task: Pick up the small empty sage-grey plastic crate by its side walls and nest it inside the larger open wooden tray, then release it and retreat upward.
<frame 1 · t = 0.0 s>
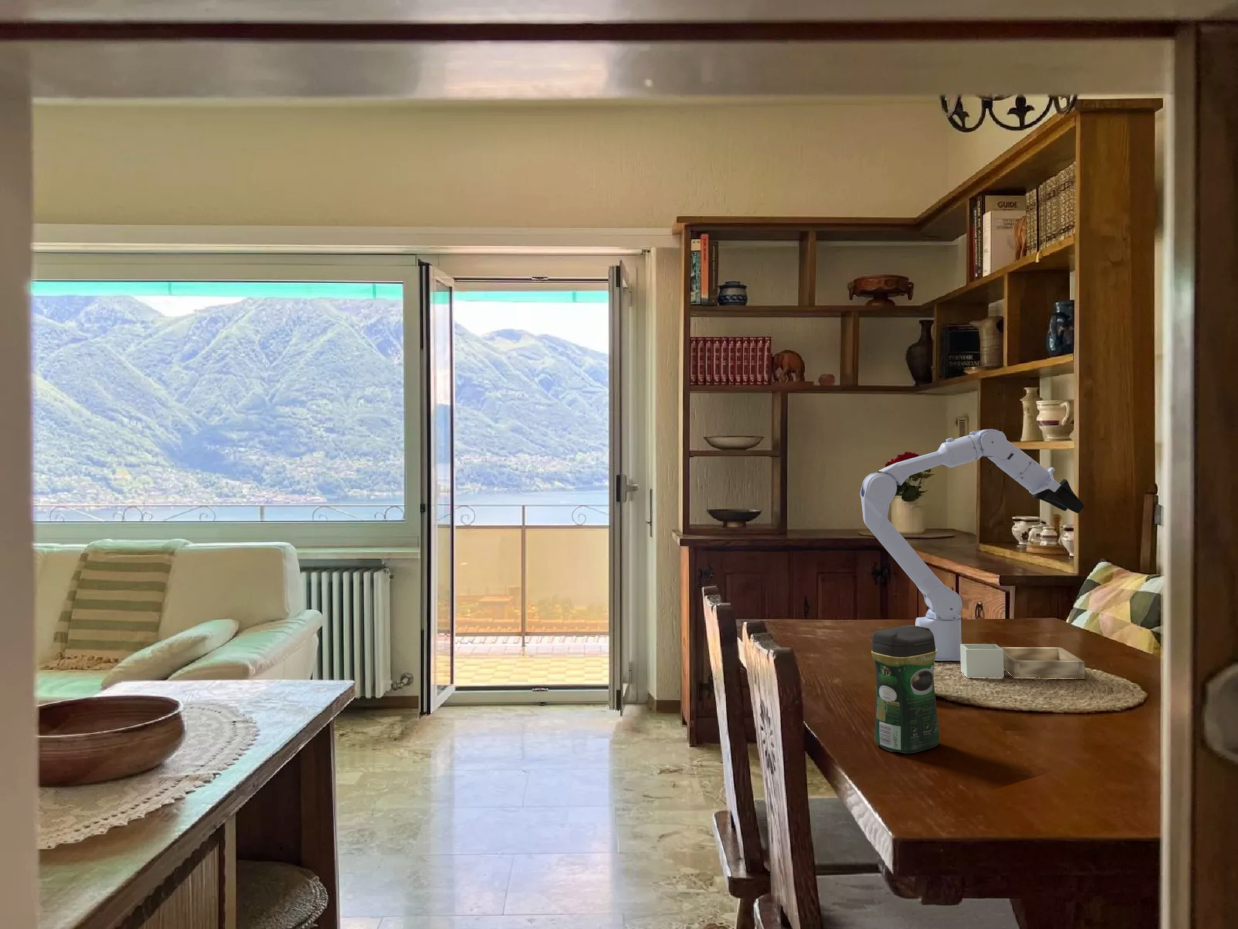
hand: (1074, 508, 188), 32 cm above the table, tool tilted 50°, fingers open, 7 cm apart
coffee jar: (906, 747, 136), on the table
wooden tray: (1038, 671, 178), on the table
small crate: (982, 676, 176), on the table
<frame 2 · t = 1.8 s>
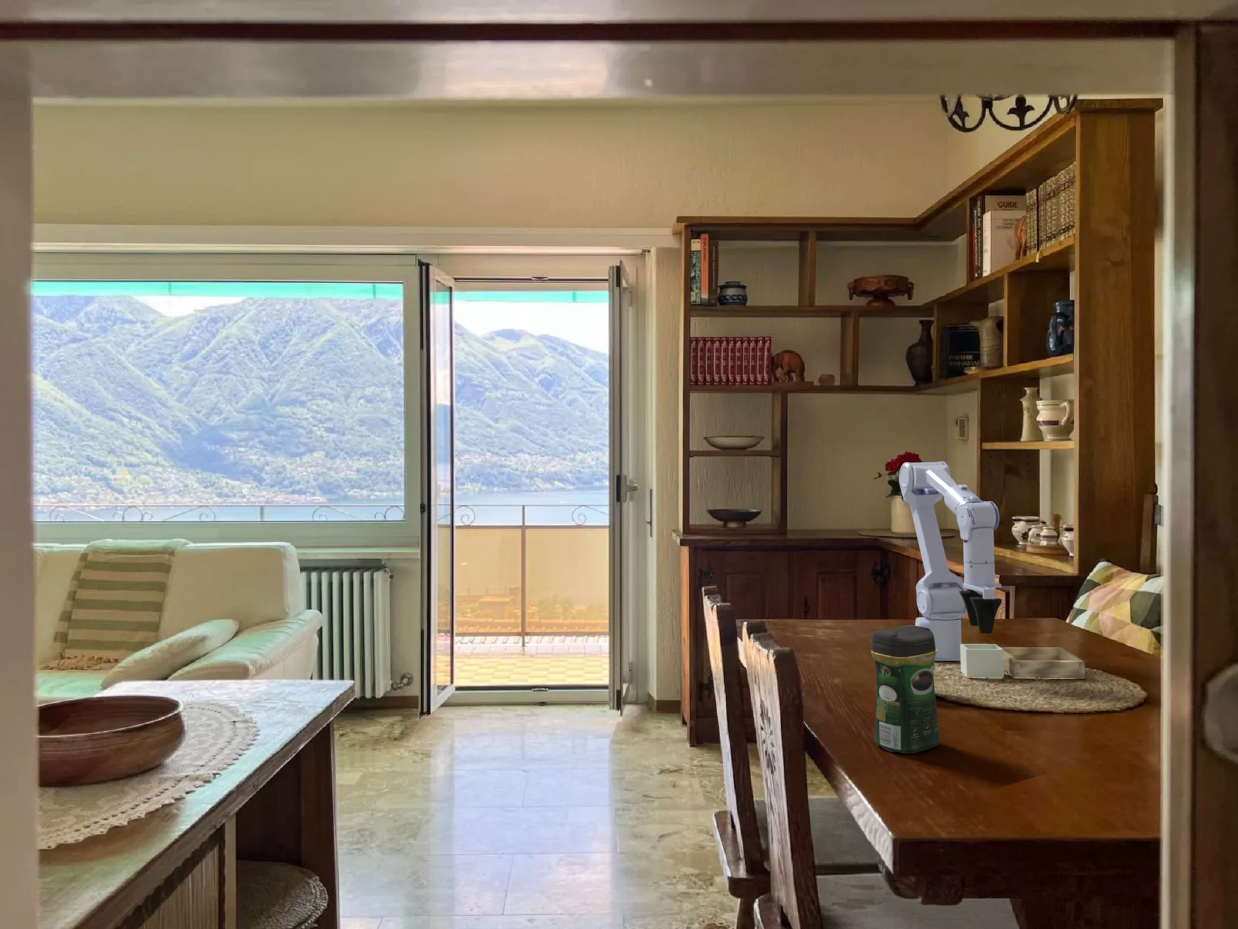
hand: (980, 629, 176), 9 cm above the table, tool pointing down, fingers open, 7 cm apart
nothing on the table moved.
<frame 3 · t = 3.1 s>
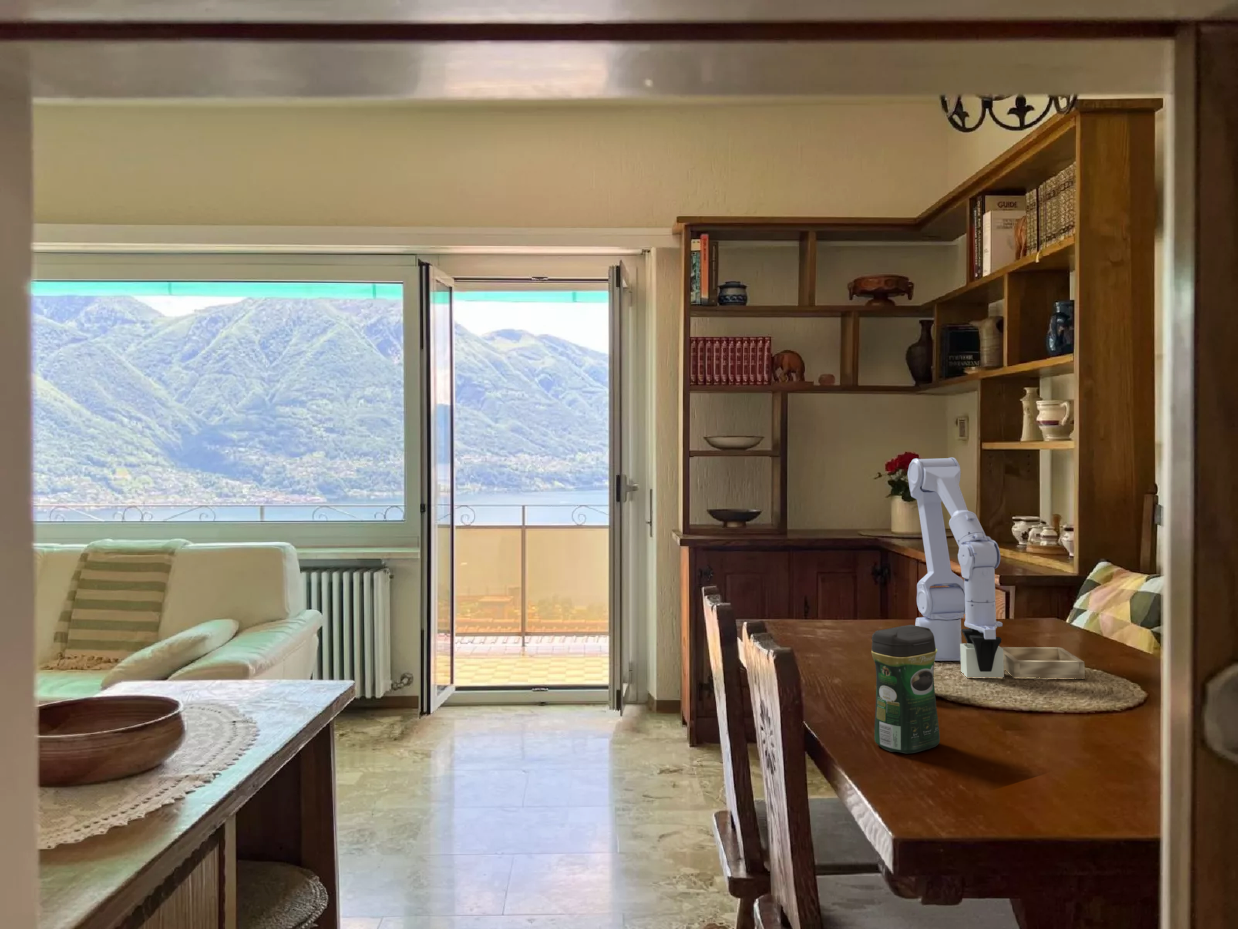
hand: (981, 667, 176), 2 cm above the table, tool pointing down, fingers closed on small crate, 5 cm apart
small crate: (982, 675, 176), on the table, touching gripper
everything else where it was.
when the fingers open (4 cm above the table, at t = 6.4 s): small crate drops 1 cm, resting on wooden tray.
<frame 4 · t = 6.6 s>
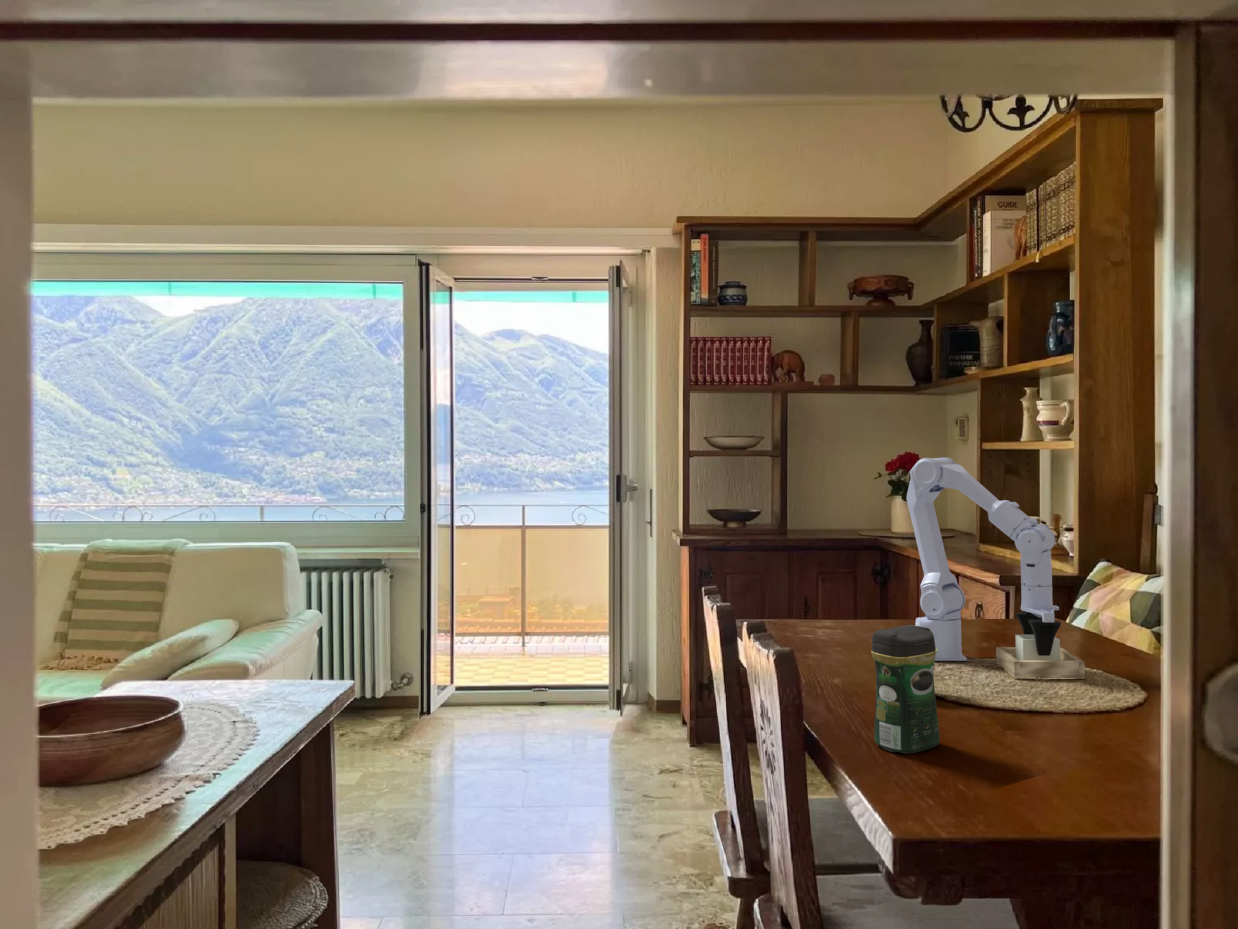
hand: (1038, 651, 178), 4 cm above the table, tool pointing down, fingers open, 7 cm apart
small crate: (1037, 666, 178), point 1 cm above the table, touching wooden tray
everything else where it was.
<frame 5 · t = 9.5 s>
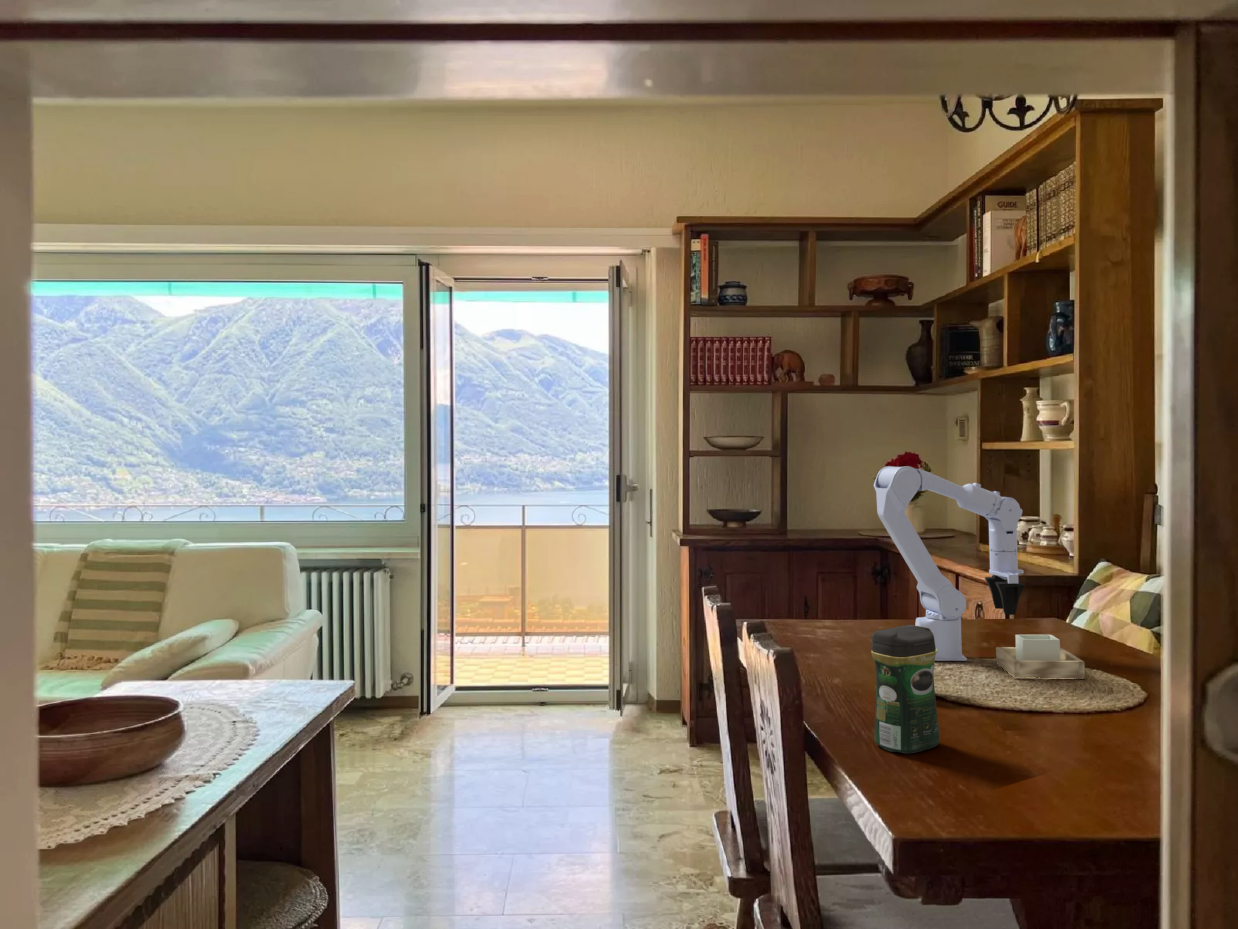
hand: (1005, 611, 194), 9 cm above the table, tool pointing down, fingers open, 7 cm apart
nothing on the table moved.
at the end: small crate 0.2 cm off-centre on the wooden tray, point 1.0 cm above the wooden tray's base; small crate tilted 0°; the gripper is holding nothing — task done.
